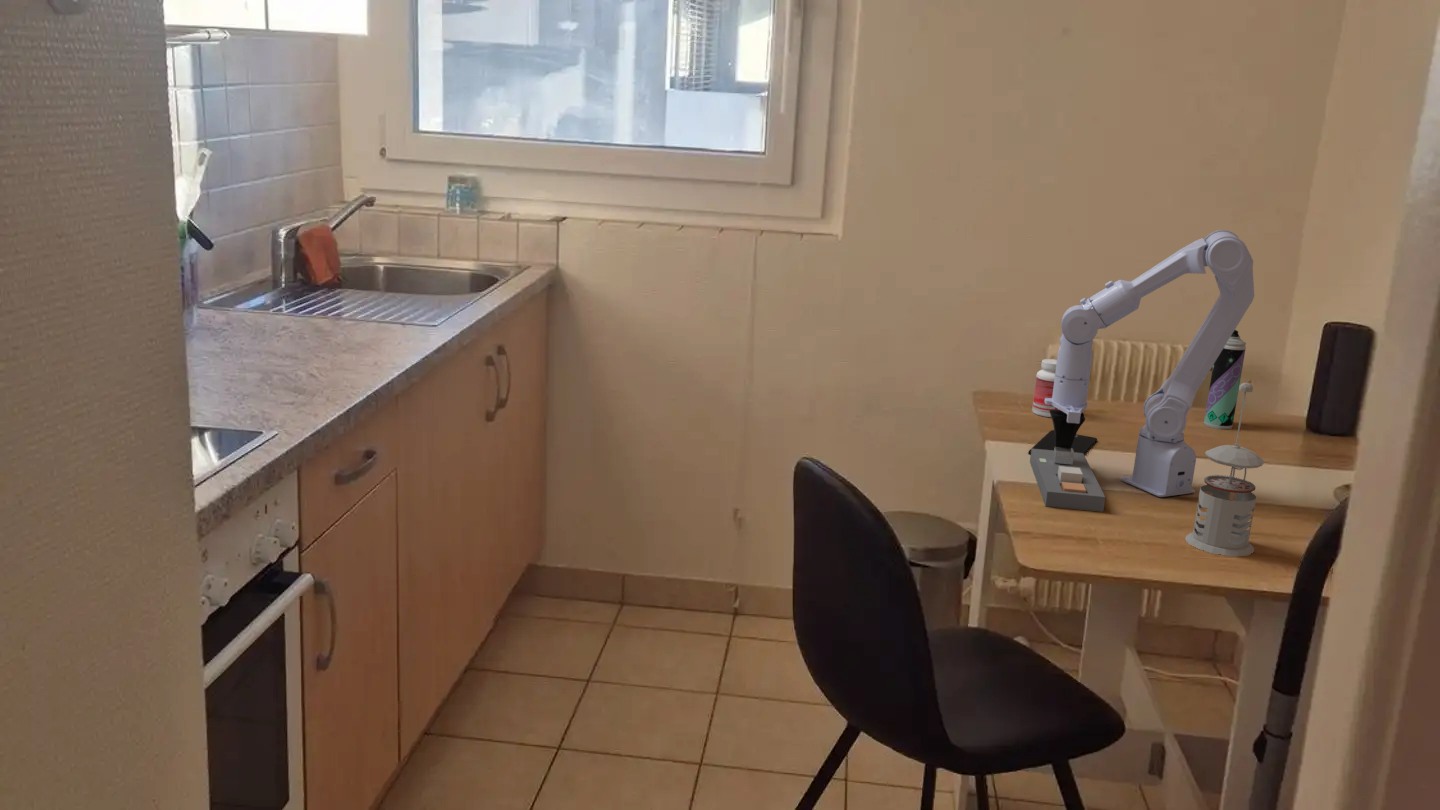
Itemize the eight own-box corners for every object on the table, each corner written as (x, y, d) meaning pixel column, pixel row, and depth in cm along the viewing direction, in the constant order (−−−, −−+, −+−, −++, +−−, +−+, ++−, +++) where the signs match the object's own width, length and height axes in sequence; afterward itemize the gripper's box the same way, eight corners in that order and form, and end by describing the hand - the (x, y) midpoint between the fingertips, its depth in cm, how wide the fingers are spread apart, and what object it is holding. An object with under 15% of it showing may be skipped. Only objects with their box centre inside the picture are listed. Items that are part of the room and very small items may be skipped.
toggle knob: (1072, 464, 214) (1074, 452, 213) (1054, 463, 214) (1056, 450, 213) (1070, 460, 216) (1072, 448, 215) (1052, 458, 216) (1054, 446, 216)
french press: (1177, 544, 186) (1203, 382, 180) (1196, 524, 196) (1222, 369, 189) (1246, 561, 181) (1276, 395, 175) (1263, 539, 191) (1291, 381, 184)
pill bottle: (1062, 419, 253) (1069, 366, 250) (1031, 415, 254) (1037, 362, 251) (1062, 412, 258) (1069, 360, 255) (1032, 408, 260) (1038, 356, 257)
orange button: (1084, 504, 200) (1086, 490, 200) (1062, 502, 201) (1064, 488, 200) (1081, 497, 204) (1083, 483, 203) (1059, 495, 204) (1061, 481, 203)
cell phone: (1097, 442, 239) (1097, 437, 239) (1076, 465, 224) (1076, 460, 223) (1051, 434, 243) (1051, 429, 243) (1027, 456, 228) (1027, 451, 227)
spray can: (1197, 423, 256) (1213, 327, 251) (1217, 421, 258) (1233, 326, 253) (1218, 430, 251) (1234, 332, 246) (1238, 428, 253) (1254, 331, 248)
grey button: (1080, 488, 205) (1082, 474, 204) (1059, 486, 205) (1061, 472, 205) (1077, 481, 208) (1079, 468, 208) (1057, 479, 209) (1058, 466, 208)
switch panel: (1103, 511, 199) (1105, 496, 198) (1045, 506, 200) (1047, 490, 199) (1081, 466, 222) (1083, 452, 221) (1029, 461, 223) (1031, 448, 222)
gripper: (1043, 364, 220) (1034, 438, 224) (1053, 384, 206) (1043, 462, 210) (1084, 368, 219) (1074, 442, 223) (1097, 388, 206) (1086, 466, 209)
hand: (1062, 452), depth 216 cm, fingers closed
